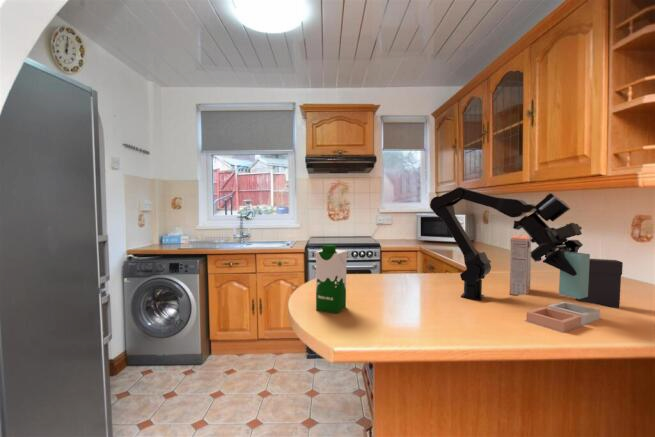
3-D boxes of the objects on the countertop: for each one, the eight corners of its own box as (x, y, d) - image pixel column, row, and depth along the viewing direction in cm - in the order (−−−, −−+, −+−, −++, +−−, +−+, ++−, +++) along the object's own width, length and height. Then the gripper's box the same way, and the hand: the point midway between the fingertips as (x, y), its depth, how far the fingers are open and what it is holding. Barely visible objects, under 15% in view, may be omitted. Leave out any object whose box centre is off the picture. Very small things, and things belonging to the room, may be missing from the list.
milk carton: (312, 310, 98) (312, 245, 97) (324, 302, 106) (325, 242, 105) (338, 315, 94) (339, 247, 94) (349, 306, 103) (350, 243, 102)
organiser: (523, 324, 88) (524, 311, 88) (562, 312, 99) (563, 300, 99) (563, 337, 80) (564, 323, 80) (601, 322, 90) (602, 309, 90)
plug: (558, 294, 92) (560, 252, 92) (567, 292, 95) (569, 251, 94) (579, 299, 88) (581, 255, 88) (587, 296, 91) (589, 254, 90)
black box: (613, 304, 107) (615, 259, 106) (620, 308, 103) (623, 261, 102) (573, 301, 110) (575, 257, 109) (579, 304, 106) (581, 259, 105)
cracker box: (512, 286, 129) (514, 234, 128) (530, 289, 125) (532, 235, 124) (508, 294, 118) (509, 237, 117) (527, 297, 114) (529, 238, 113)
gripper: (544, 213, 89) (590, 259, 80) (576, 213, 99) (620, 254, 90) (514, 239, 96) (553, 284, 87) (547, 236, 106) (585, 276, 97)
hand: (579, 274), depth 90 cm, fingers closed on plug, 5 cm apart
